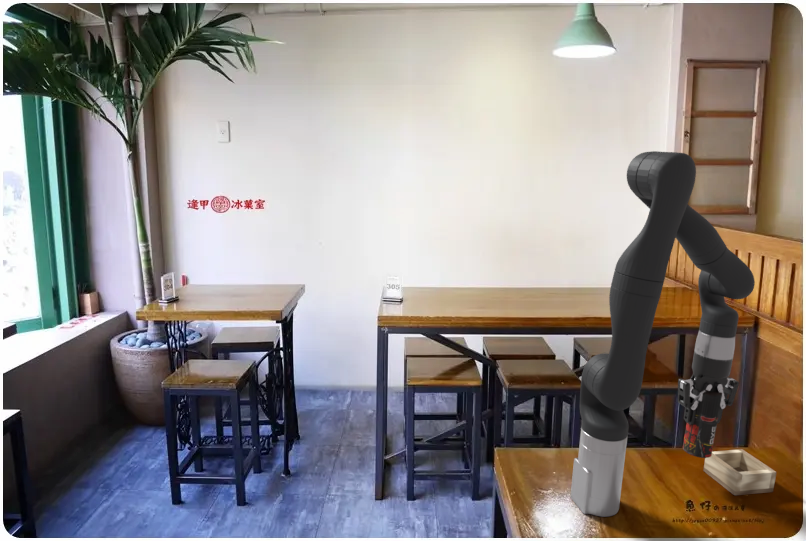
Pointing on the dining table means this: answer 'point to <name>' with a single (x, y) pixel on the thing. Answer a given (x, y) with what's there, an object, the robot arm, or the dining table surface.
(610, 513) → the robot arm
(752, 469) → the white wooden box
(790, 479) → the dining table surface
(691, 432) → the deodorant
